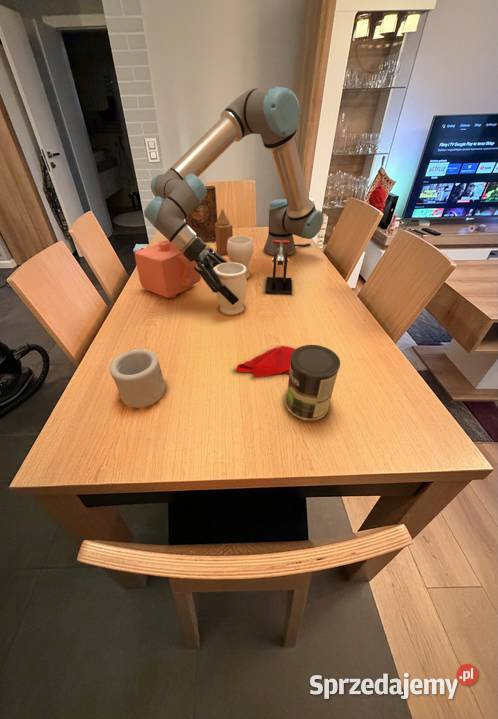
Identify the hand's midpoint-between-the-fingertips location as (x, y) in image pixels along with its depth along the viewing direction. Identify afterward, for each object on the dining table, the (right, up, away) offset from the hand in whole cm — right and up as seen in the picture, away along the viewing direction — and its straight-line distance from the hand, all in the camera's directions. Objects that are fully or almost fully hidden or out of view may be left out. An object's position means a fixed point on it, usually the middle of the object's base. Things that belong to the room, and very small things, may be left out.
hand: (239, 294), depth 101 cm
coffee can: (+17, -33, -29) cm, 47 cm away
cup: (0, +13, +25) cm, 28 cm away
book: (-21, +41, +58) cm, 75 cm away
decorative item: (-9, +30, +46) cm, 55 cm away
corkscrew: (+15, +18, +13) cm, 27 cm away
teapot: (-25, +8, +19) cm, 32 cm away
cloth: (+13, -23, -18) cm, 32 cm away
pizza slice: (-25, +28, +43) cm, 57 cm away
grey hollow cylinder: (-24, -30, -25) cm, 46 cm away
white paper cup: (-3, -4, +4) cm, 7 cm away
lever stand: (+15, +7, +17) cm, 24 cm away
